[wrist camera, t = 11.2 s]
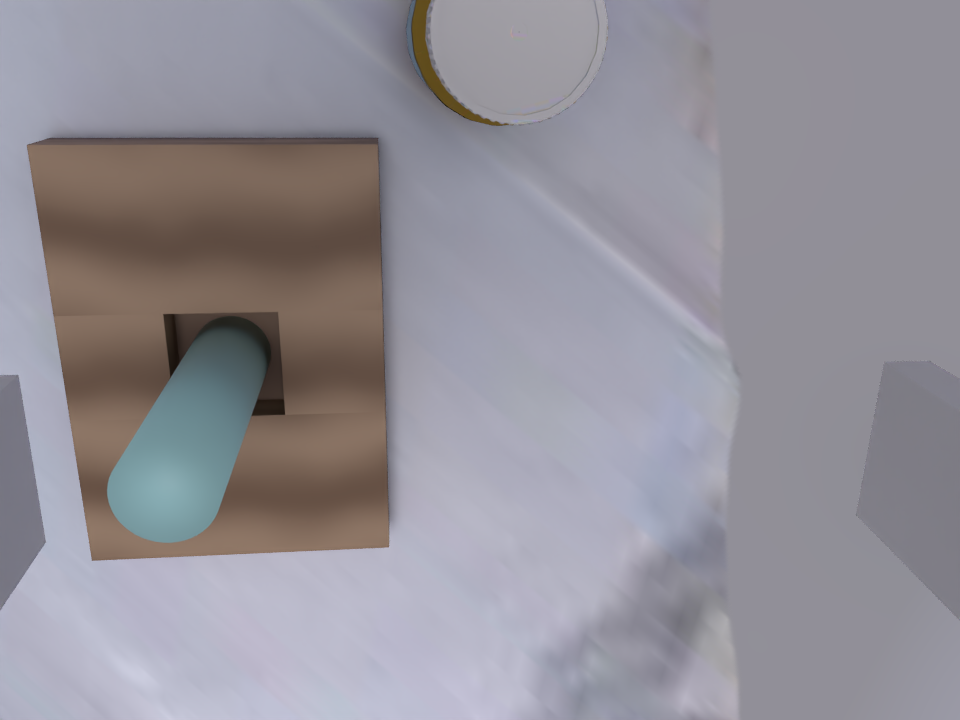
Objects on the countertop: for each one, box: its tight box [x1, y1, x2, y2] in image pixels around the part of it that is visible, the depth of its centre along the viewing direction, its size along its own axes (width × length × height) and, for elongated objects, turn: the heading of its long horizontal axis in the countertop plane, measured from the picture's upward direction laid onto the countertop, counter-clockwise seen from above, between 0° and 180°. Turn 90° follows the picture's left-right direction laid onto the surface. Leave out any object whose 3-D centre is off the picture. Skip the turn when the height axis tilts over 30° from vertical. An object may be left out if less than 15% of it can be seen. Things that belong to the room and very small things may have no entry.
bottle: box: [406, 0, 608, 126], centre depth 37 cm, size 7×7×15 cm
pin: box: [107, 316, 271, 543], centre depth 40 cm, size 4×4×16 cm
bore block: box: [27, 138, 389, 561], centre depth 47 cm, size 22×16×3 cm
